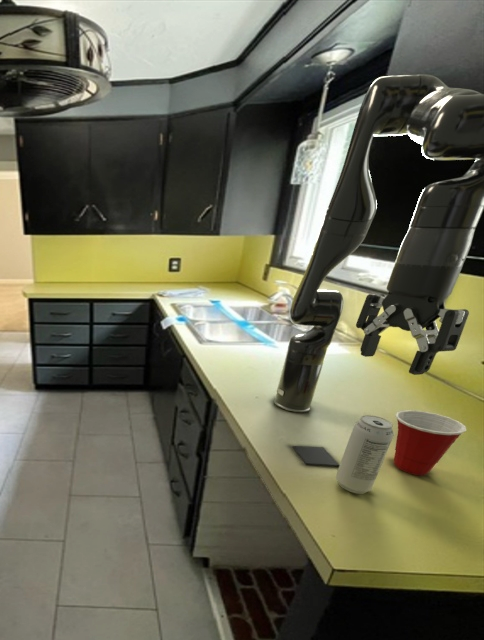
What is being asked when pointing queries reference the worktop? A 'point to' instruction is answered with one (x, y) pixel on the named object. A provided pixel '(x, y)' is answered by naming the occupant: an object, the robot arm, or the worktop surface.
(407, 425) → the plastic cup
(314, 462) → the coaster
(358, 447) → the energy drink can
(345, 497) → the worktop surface
